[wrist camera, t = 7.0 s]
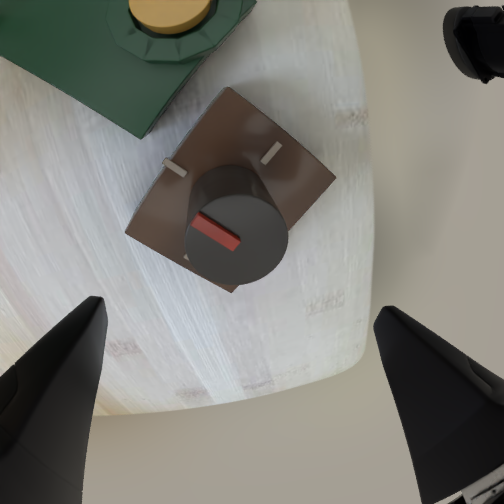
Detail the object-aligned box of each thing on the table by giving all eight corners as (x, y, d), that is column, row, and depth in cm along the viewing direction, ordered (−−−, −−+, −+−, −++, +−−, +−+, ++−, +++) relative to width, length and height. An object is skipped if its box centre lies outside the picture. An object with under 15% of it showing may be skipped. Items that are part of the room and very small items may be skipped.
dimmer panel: (322, 167, 19) (341, 181, 16) (231, 270, 22) (235, 297, 20) (220, 84, 15) (223, 82, 13) (130, 210, 19) (119, 231, 16)
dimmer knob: (284, 195, 16) (311, 235, 12) (235, 251, 18) (246, 304, 14) (221, 148, 15) (227, 174, 10) (173, 212, 16) (163, 259, 12)
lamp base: (257, 10, 13) (271, -9, 10) (151, 136, 16) (137, 149, 13) (74, -73, 6) (54, -93, 3) (-10, 41, 9) (-44, 41, 6)
